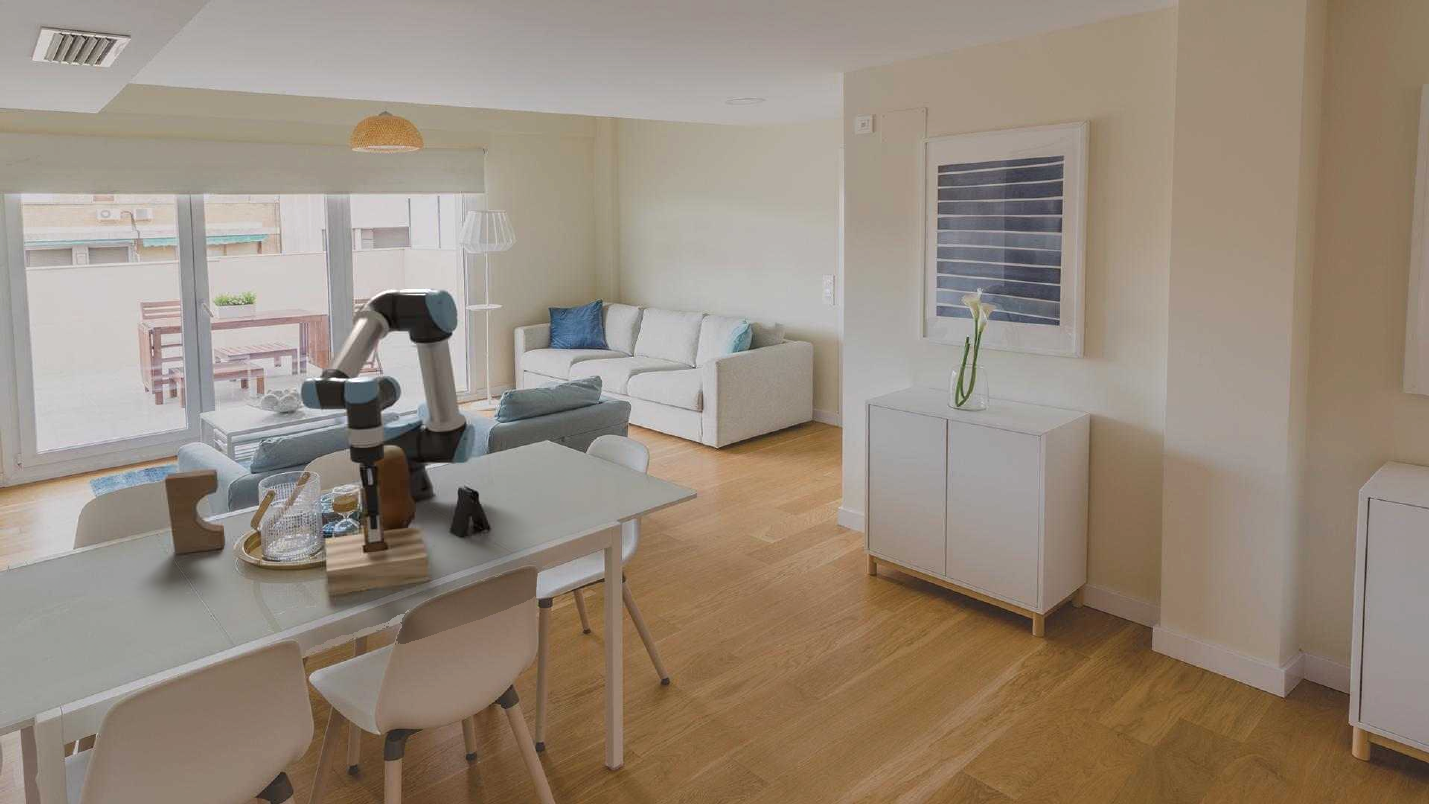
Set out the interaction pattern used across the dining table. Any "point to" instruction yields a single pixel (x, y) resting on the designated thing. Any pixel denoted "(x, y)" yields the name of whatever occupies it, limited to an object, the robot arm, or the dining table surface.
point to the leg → (368, 545)
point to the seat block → (376, 561)
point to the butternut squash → (395, 489)
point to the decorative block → (192, 511)
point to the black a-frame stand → (468, 514)
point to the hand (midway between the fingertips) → (374, 537)
